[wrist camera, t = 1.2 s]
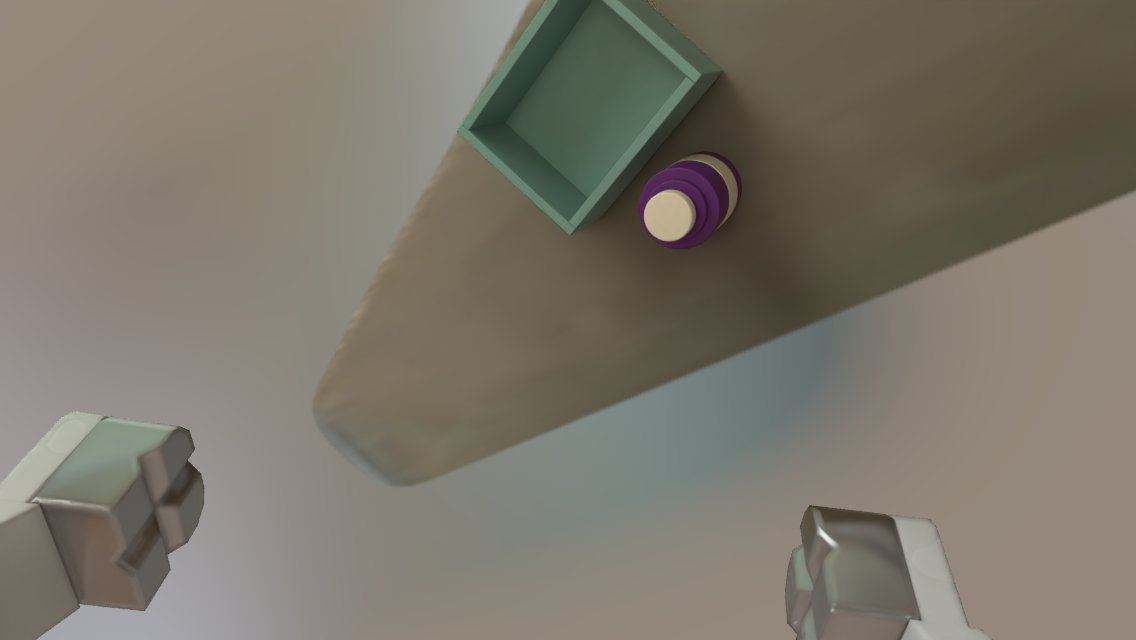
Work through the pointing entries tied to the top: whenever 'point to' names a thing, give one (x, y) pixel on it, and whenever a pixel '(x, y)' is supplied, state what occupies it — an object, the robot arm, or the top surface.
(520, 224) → the top surface
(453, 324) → the top surface
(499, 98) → the bin
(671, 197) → the grape juice bottle
